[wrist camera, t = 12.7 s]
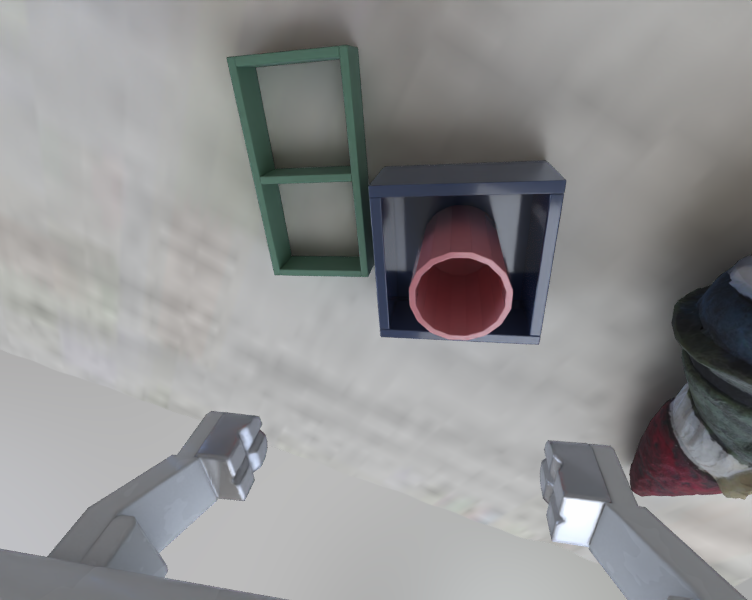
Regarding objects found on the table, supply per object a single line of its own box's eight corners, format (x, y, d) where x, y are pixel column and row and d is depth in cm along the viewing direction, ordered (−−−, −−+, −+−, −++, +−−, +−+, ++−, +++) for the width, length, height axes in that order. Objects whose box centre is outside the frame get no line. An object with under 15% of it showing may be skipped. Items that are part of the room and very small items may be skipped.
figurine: (631, 317, 49) (729, 426, 43) (529, 383, 44) (623, 511, 39) (956, 128, 22) (1299, 348, 17) (778, 246, 18) (1157, 579, 13)
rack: (246, 58, 29) (225, 57, 26) (357, 47, 27) (347, 44, 25) (287, 261, 37) (274, 275, 34) (375, 262, 35) (368, 277, 33)
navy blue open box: (384, 166, 31) (368, 185, 25) (546, 160, 28) (566, 180, 23) (391, 299, 37) (380, 337, 31) (527, 303, 34) (539, 345, 29)
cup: (421, 205, 31) (407, 251, 23) (502, 203, 30) (517, 252, 22) (422, 275, 34) (410, 337, 26) (496, 276, 33) (507, 342, 25)
